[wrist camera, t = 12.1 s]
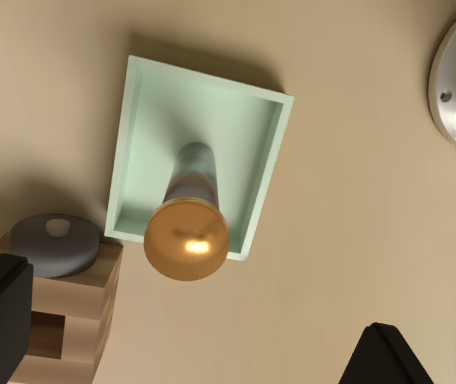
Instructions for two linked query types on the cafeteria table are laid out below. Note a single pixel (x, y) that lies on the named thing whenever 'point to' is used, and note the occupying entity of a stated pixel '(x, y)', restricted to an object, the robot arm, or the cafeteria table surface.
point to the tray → (187, 133)
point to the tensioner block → (65, 297)
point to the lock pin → (189, 220)
